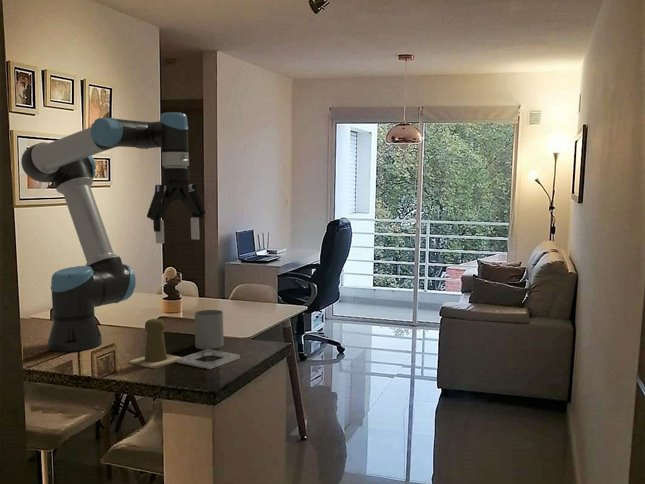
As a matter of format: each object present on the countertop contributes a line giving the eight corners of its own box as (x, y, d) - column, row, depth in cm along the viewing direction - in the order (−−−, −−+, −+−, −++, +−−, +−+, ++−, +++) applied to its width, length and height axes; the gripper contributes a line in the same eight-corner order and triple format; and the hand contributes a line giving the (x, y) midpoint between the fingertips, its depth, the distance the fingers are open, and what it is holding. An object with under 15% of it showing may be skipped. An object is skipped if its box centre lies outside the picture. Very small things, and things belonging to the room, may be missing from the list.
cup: (217, 349, 183) (216, 316, 182) (190, 348, 184) (189, 315, 184) (227, 342, 191) (226, 310, 190) (202, 341, 193) (201, 309, 192)
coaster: (129, 362, 170) (129, 360, 170) (157, 354, 179) (157, 352, 178) (154, 368, 165) (154, 366, 165) (182, 359, 173) (182, 357, 173)
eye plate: (177, 362, 170) (176, 359, 170) (207, 352, 180) (207, 348, 180) (209, 369, 164) (209, 365, 163) (239, 358, 174) (239, 354, 173)
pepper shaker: (172, 357, 173) (170, 318, 172) (155, 363, 167) (154, 322, 166) (156, 354, 176) (155, 316, 175) (139, 360, 171) (138, 320, 170)
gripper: (150, 166, 167) (153, 245, 169) (215, 167, 188) (217, 238, 190) (131, 167, 172) (135, 244, 174) (198, 168, 192) (200, 237, 194)
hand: (178, 241), depth 182 cm, fingers open, 13 cm apart
